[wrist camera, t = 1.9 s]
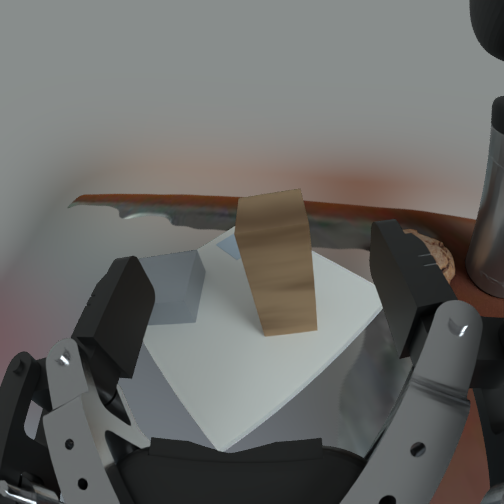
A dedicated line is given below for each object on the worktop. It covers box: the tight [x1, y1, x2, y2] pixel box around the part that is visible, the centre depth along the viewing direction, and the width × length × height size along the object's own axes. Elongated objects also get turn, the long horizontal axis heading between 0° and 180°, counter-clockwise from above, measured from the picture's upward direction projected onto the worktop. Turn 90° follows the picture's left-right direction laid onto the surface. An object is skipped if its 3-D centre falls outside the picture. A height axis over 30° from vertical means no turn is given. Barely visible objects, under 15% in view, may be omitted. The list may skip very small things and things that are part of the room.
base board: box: [139, 226, 383, 452], centre depth 31 cm, size 22×24×4 cm
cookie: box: [403, 229, 455, 285], centre depth 30 cm, size 10×11×3 cm
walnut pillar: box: [234, 189, 318, 337], centre depth 25 cm, size 5×5×12 cm
